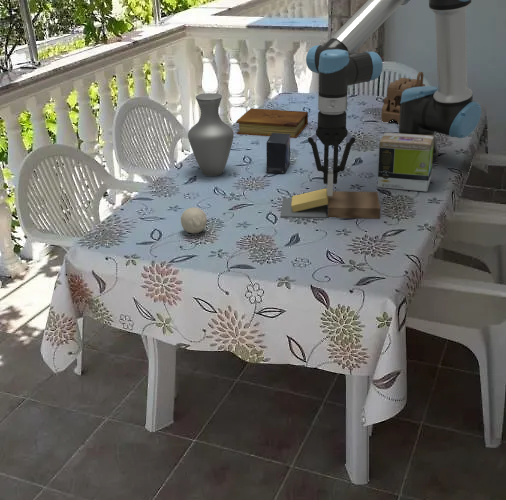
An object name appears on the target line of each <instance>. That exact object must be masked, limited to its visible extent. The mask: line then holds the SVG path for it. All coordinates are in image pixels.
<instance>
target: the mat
mask: <svg viewBox="0 0 506 500" xmlns="http://www.w3.org/2000/svg"><path fill="white" fill-rule="evenodd" d="M291 204H292V197H290V198H286V197H285V198H284V197H282V203H281V210H280V218H283V219H285V218H288V217H307V218H306V219H327V205H322V206H318V207H314V208H309V209H305V210H301V211H296V212H293V210H292V207H291Z"/></svg>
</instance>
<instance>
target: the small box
mask: <svg viewBox="0 0 506 500" xmlns="http://www.w3.org/2000/svg"><path fill="white" fill-rule="evenodd" d="M268 137H269V138H268V139H267V140H266V144H265V145H266V146H265V147H266V152H265V153H266V167H265V168H266V171H265V173H267V174H279V175H285V174H286V173H287V170H288V168H289V166H290V164H291V163H290V162H291V138H290V134H283V133H272V134H271V136H268Z"/></svg>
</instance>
